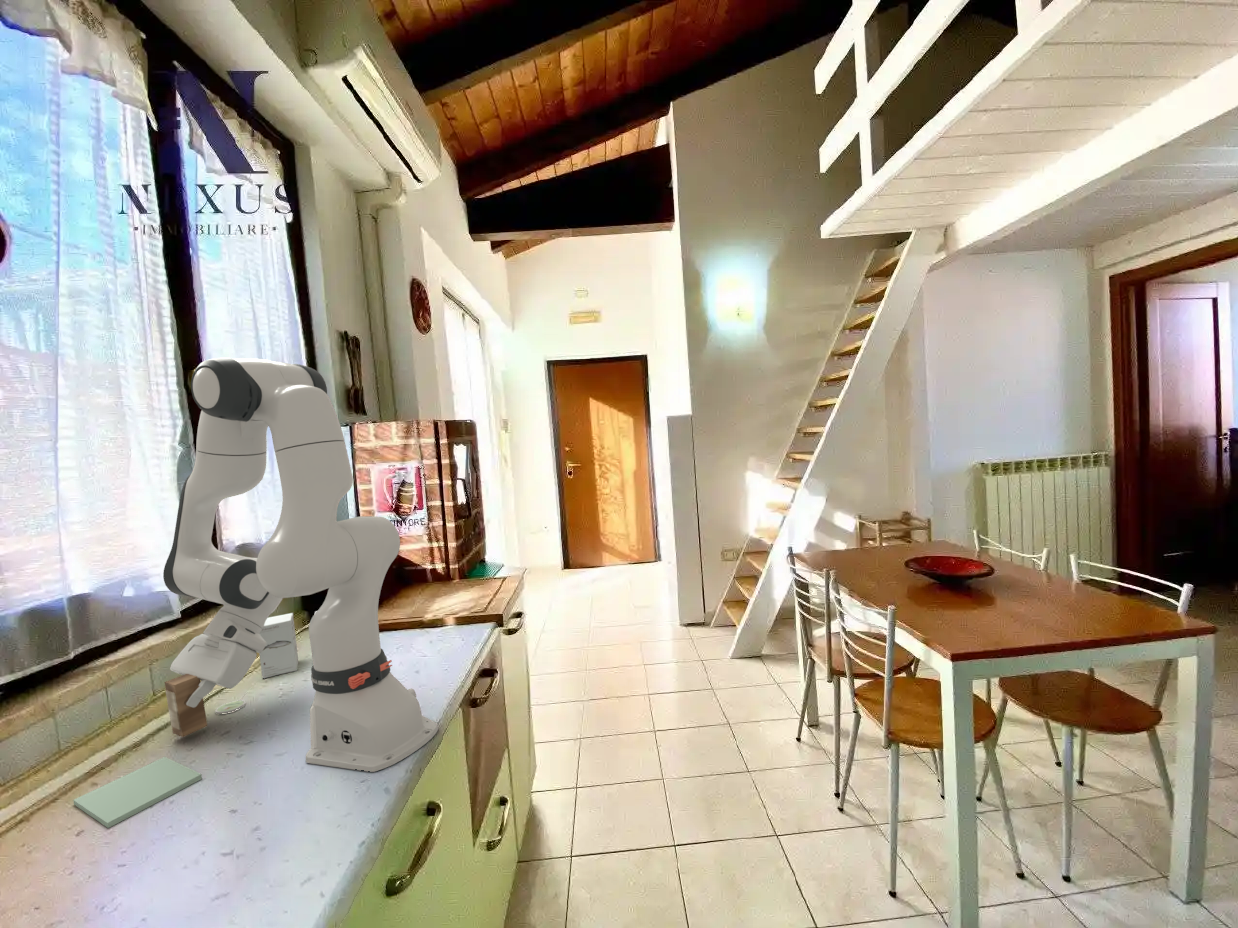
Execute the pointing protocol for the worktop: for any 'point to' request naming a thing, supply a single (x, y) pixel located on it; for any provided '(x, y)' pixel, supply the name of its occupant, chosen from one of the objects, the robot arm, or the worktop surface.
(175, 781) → the rubber mat
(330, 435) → the robot arm
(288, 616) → the supplement box
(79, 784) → the worktop surface
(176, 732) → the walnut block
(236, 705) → the sign
